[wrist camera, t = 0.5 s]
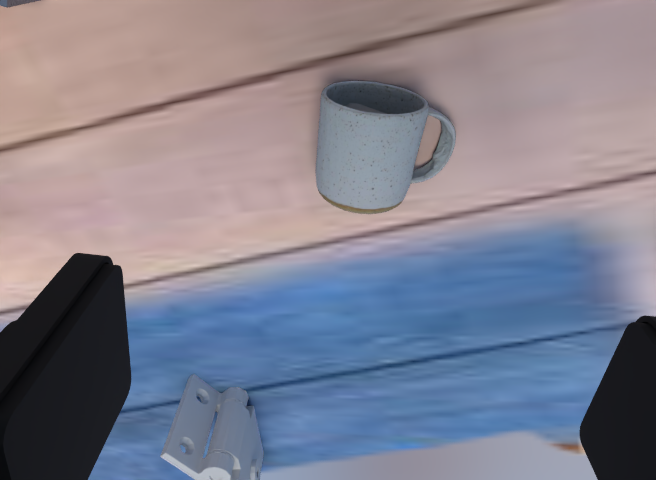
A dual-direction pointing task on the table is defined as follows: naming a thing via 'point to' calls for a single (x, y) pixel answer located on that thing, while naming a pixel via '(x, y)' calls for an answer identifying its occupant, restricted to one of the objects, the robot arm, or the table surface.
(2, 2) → the grey cross-shaped holder
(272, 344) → the table surface
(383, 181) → the ceramic mug
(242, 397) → the hinge
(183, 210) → the table surface
